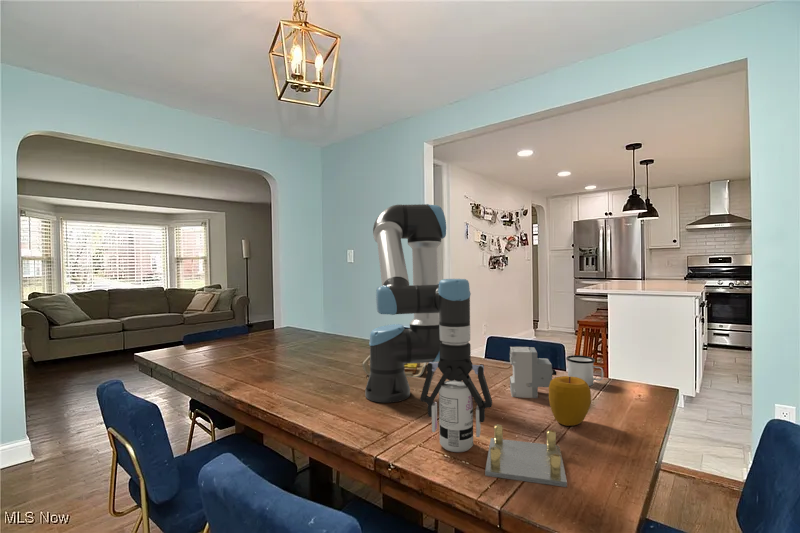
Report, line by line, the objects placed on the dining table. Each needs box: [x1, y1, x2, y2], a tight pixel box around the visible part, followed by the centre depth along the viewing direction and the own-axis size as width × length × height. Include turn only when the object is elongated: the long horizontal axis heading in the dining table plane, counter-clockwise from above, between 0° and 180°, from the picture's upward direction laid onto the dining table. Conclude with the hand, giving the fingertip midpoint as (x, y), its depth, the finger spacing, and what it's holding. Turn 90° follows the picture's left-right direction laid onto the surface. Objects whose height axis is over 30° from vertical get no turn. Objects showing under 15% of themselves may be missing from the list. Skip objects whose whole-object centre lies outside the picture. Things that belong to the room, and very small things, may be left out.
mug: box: [565, 354, 604, 387], centre depth 143 cm, size 12×9×9 cm
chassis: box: [484, 424, 568, 488], centre depth 89 cm, size 16×16×5 cm
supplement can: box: [438, 380, 474, 453], centre depth 97 cm, size 8×8×15 cm
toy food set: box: [361, 354, 427, 378], centre depth 165 cm, size 25×18×8 cm
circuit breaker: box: [509, 346, 557, 399], centre depth 133 cm, size 8×14×15 cm, turn 78°
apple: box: [548, 375, 592, 427], centre depth 109 cm, size 11×11×13 cm
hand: (456, 432), depth 98 cm, fingers open, 10 cm apart
